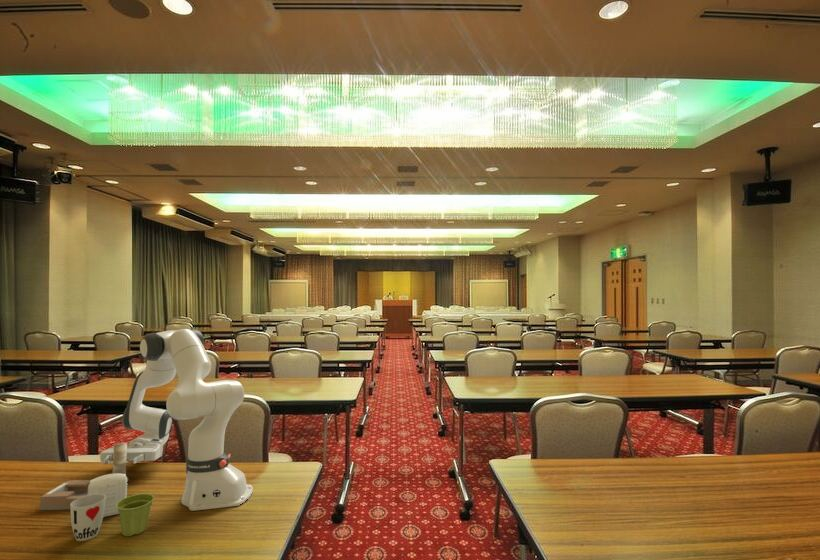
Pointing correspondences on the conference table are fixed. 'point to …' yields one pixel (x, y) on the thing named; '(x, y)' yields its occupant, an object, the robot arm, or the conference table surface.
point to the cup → (87, 516)
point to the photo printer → (110, 490)
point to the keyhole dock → (64, 495)
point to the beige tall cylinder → (120, 458)
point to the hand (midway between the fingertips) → (118, 461)
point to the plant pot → (134, 513)
